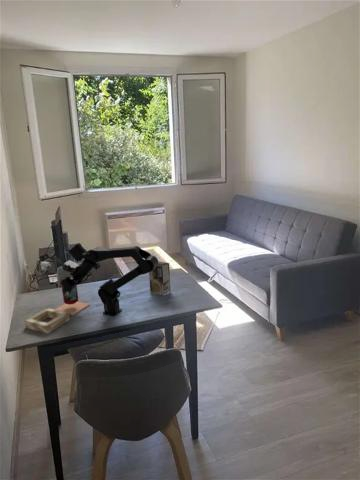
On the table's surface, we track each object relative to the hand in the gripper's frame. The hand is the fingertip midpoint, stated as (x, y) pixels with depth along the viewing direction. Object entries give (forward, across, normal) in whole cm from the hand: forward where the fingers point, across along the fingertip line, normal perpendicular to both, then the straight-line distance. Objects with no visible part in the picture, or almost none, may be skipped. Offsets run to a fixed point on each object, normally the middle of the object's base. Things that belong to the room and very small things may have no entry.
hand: (67, 289), depth 170 cm
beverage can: (+4, 0, +6) cm, 7 cm away
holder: (+8, +16, +6) cm, 19 cm away
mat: (+6, 0, +8) cm, 10 cm away
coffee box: (-19, -26, +34) cm, 47 cm away
